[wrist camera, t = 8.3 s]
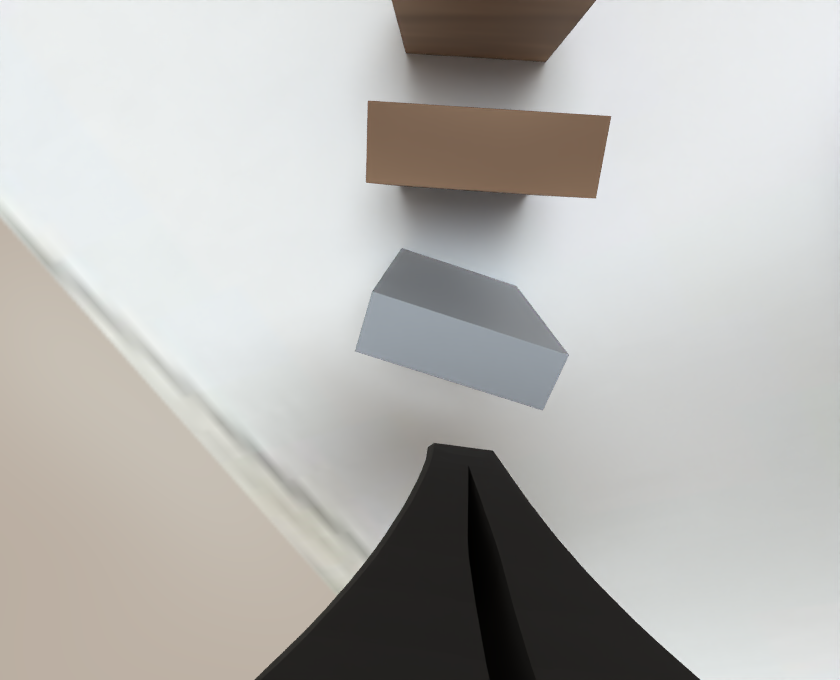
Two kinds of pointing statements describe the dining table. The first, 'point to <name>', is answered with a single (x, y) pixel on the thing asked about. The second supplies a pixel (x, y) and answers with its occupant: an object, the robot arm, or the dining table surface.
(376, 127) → the domino
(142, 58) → the dining table surface
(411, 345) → the domino
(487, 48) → the domino
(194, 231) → the dining table surface
